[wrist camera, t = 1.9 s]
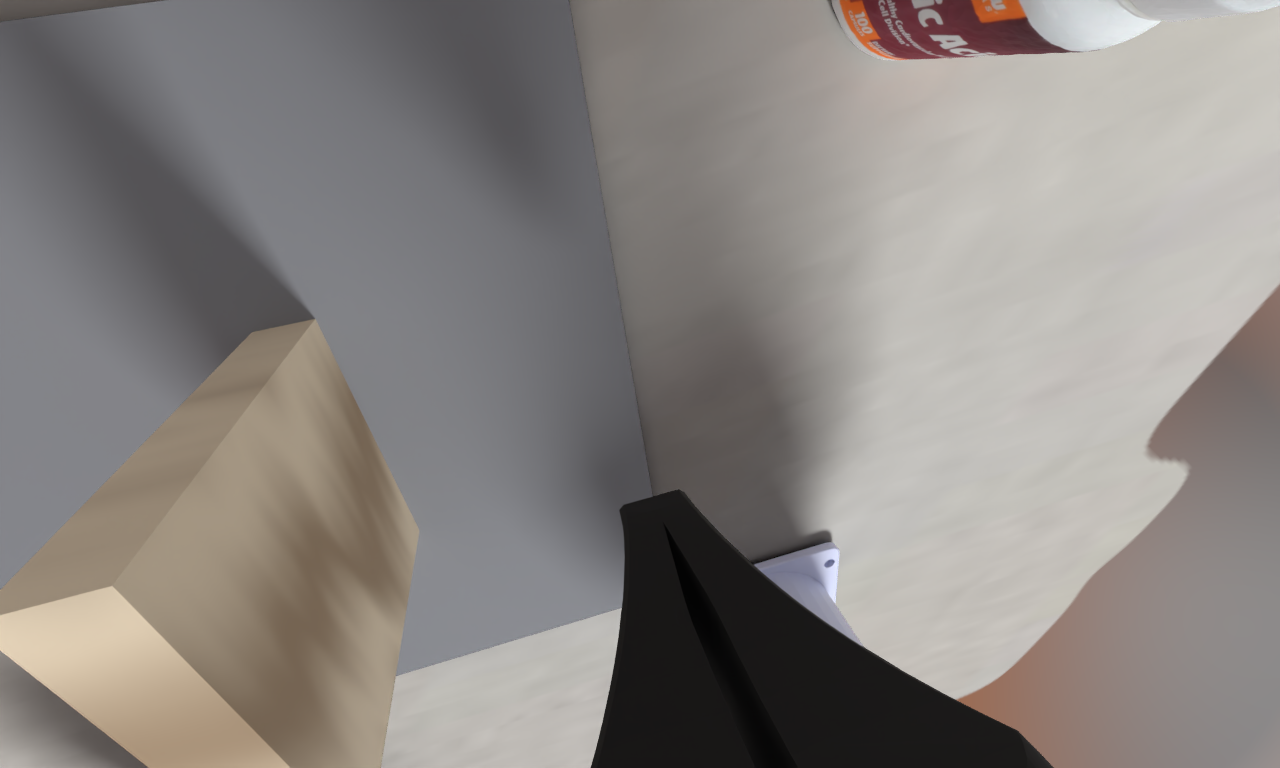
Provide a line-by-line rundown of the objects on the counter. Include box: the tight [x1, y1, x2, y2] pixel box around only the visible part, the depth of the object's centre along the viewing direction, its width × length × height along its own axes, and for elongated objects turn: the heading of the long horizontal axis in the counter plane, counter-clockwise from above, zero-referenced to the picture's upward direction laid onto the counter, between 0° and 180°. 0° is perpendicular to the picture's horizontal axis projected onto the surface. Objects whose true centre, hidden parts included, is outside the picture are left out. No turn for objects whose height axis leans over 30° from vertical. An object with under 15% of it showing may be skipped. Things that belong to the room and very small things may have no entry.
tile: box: [0, 319, 419, 768], centre depth 12 cm, size 8×2×9 cm, turn 8°
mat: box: [0, 0, 653, 676], centre depth 16 cm, size 22×20×1 cm
